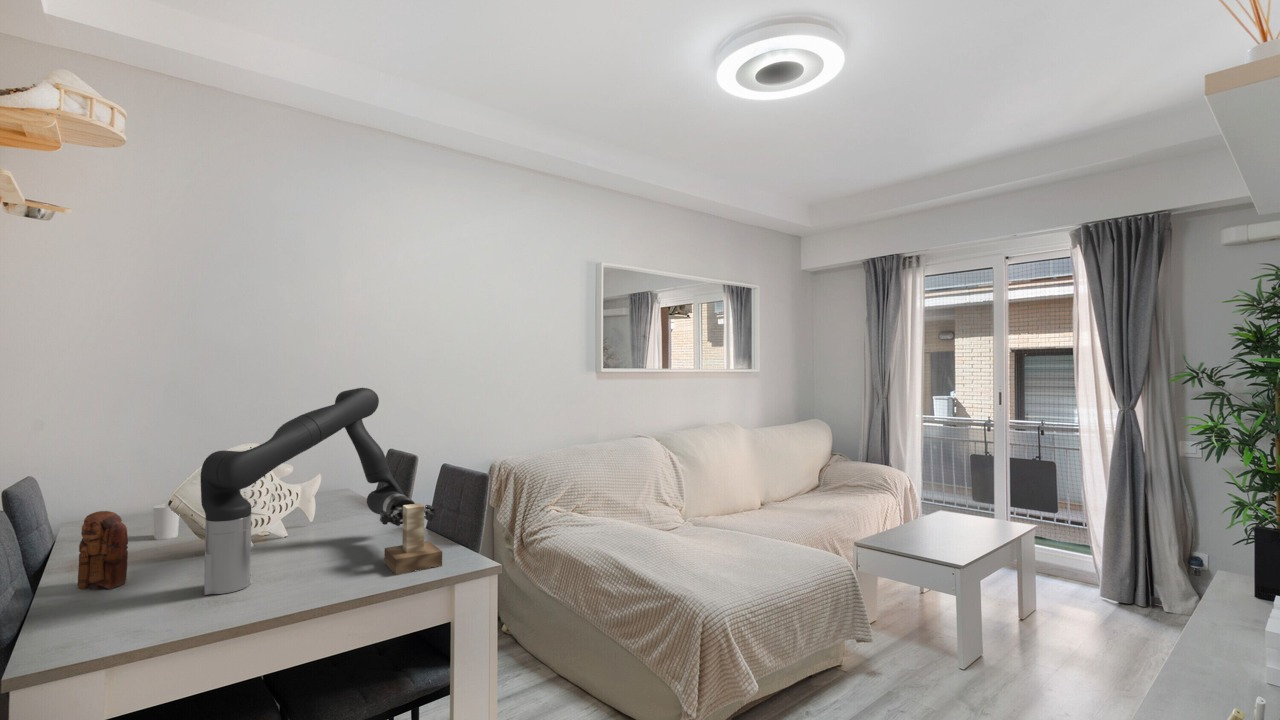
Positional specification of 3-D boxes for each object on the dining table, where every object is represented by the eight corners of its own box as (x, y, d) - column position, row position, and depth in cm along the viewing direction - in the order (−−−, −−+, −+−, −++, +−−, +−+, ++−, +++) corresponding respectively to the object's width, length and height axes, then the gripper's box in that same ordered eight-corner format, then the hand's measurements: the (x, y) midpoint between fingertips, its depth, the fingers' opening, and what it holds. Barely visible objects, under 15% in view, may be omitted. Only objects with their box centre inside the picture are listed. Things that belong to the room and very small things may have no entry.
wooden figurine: (65, 589, 143) (66, 514, 143) (91, 579, 149) (92, 508, 149) (111, 590, 142) (112, 515, 142) (135, 581, 148) (136, 509, 149)
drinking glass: (179, 533, 191) (179, 501, 192) (180, 537, 186) (180, 505, 186) (152, 536, 187) (153, 504, 187) (152, 541, 182) (153, 508, 182)
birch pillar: (406, 553, 159) (407, 508, 160) (402, 549, 163) (402, 505, 163) (423, 550, 162) (424, 506, 162) (419, 546, 166) (419, 503, 166)
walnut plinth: (395, 574, 154) (396, 559, 154) (384, 562, 164) (384, 548, 164) (442, 566, 161) (442, 551, 161) (428, 554, 171) (428, 540, 171)
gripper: (373, 498, 170) (387, 509, 157) (424, 492, 179) (441, 502, 166) (373, 524, 170) (387, 538, 157) (423, 517, 179) (441, 529, 166)
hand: (415, 519), depth 161 cm, fingers open, 8 cm apart
